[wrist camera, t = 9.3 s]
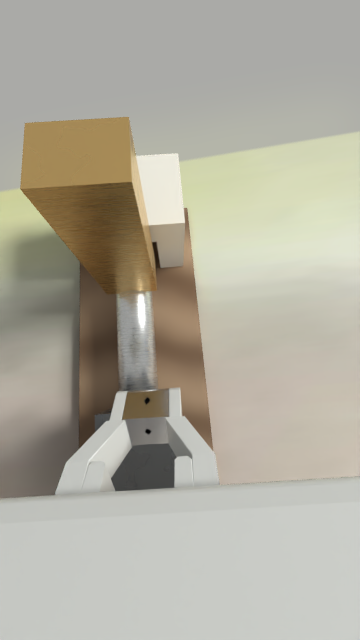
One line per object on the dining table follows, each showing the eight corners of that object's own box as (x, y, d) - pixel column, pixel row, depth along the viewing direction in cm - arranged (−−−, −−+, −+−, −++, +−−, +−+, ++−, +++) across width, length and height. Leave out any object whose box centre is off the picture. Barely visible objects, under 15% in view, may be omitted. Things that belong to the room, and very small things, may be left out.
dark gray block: (182, 507, 20) (183, 548, 15) (116, 514, 20) (95, 558, 15) (174, 401, 22) (173, 407, 17) (113, 407, 22) (94, 414, 17)
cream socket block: (183, 266, 25) (185, 222, 18) (90, 273, 24) (56, 232, 18) (177, 212, 26) (178, 153, 19) (90, 218, 26) (58, 160, 19)
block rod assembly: (167, 410, 21) (146, 470, 7) (117, 415, 20) (0, 485, 7) (153, 222, 25) (124, 27, 11) (112, 225, 25) (31, 31, 11)
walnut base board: (219, 525, 21) (221, 533, 20) (83, 540, 20) (78, 548, 19) (186, 213, 27) (187, 207, 26) (83, 221, 27) (80, 215, 26)
